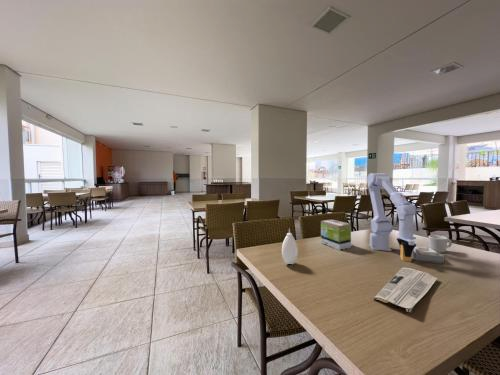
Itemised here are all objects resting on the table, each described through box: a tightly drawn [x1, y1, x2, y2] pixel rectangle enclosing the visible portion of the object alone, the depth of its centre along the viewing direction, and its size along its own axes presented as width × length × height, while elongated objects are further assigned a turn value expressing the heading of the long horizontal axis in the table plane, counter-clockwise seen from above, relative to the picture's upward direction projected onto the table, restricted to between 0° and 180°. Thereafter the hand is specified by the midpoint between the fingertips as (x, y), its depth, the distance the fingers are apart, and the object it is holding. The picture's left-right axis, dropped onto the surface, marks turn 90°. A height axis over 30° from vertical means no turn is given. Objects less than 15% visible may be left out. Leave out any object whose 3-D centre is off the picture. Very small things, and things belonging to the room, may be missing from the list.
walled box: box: [411, 246, 445, 264], centre depth 106 cm, size 11×11×4 cm
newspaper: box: [373, 267, 438, 313], centre depth 77 cm, size 35×12×4 cm, turn 131°
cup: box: [427, 234, 453, 254], centre depth 114 cm, size 11×8×8 cm
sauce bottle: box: [281, 228, 299, 265], centre depth 102 cm, size 8×8×18 cm
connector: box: [399, 245, 412, 262], centre depth 105 cm, size 4×4×8 cm
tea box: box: [320, 218, 352, 251], centre depth 128 cm, size 15×10×15 cm, turn 25°
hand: (405, 254), depth 105 cm, fingers open, 5 cm apart
